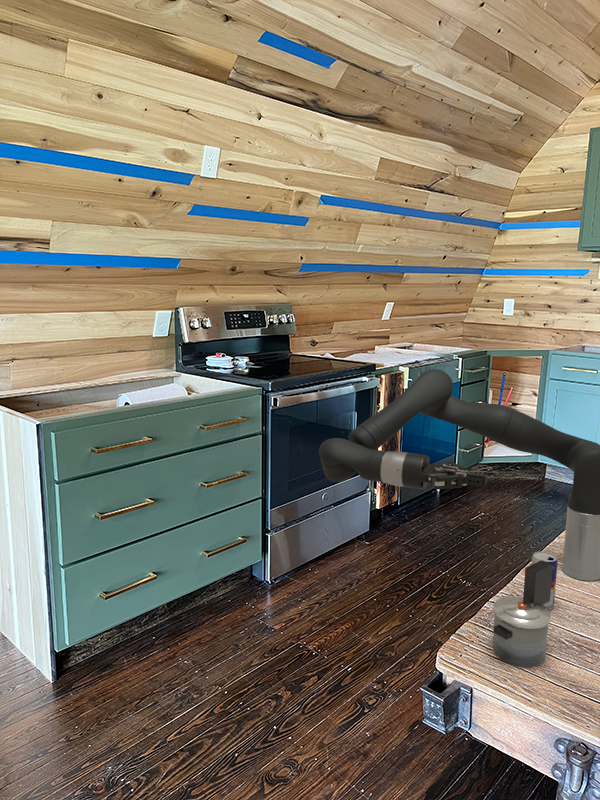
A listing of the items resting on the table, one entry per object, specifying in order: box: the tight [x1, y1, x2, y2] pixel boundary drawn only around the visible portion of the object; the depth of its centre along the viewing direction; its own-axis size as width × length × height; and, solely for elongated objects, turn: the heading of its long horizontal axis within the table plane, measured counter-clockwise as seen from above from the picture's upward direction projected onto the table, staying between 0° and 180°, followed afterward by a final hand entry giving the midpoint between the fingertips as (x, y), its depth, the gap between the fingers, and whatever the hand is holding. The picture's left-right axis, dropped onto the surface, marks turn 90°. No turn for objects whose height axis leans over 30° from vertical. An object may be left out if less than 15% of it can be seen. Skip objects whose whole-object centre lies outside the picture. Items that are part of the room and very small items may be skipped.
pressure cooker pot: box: [492, 609, 551, 668], centre depth 120 cm, size 14×10×8 cm
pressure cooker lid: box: [492, 560, 553, 629], centre depth 118 cm, size 13×11×9 cm
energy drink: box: [530, 551, 559, 611], centre depth 136 cm, size 5×5×12 cm
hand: (486, 480), depth 125 cm, fingers closed
